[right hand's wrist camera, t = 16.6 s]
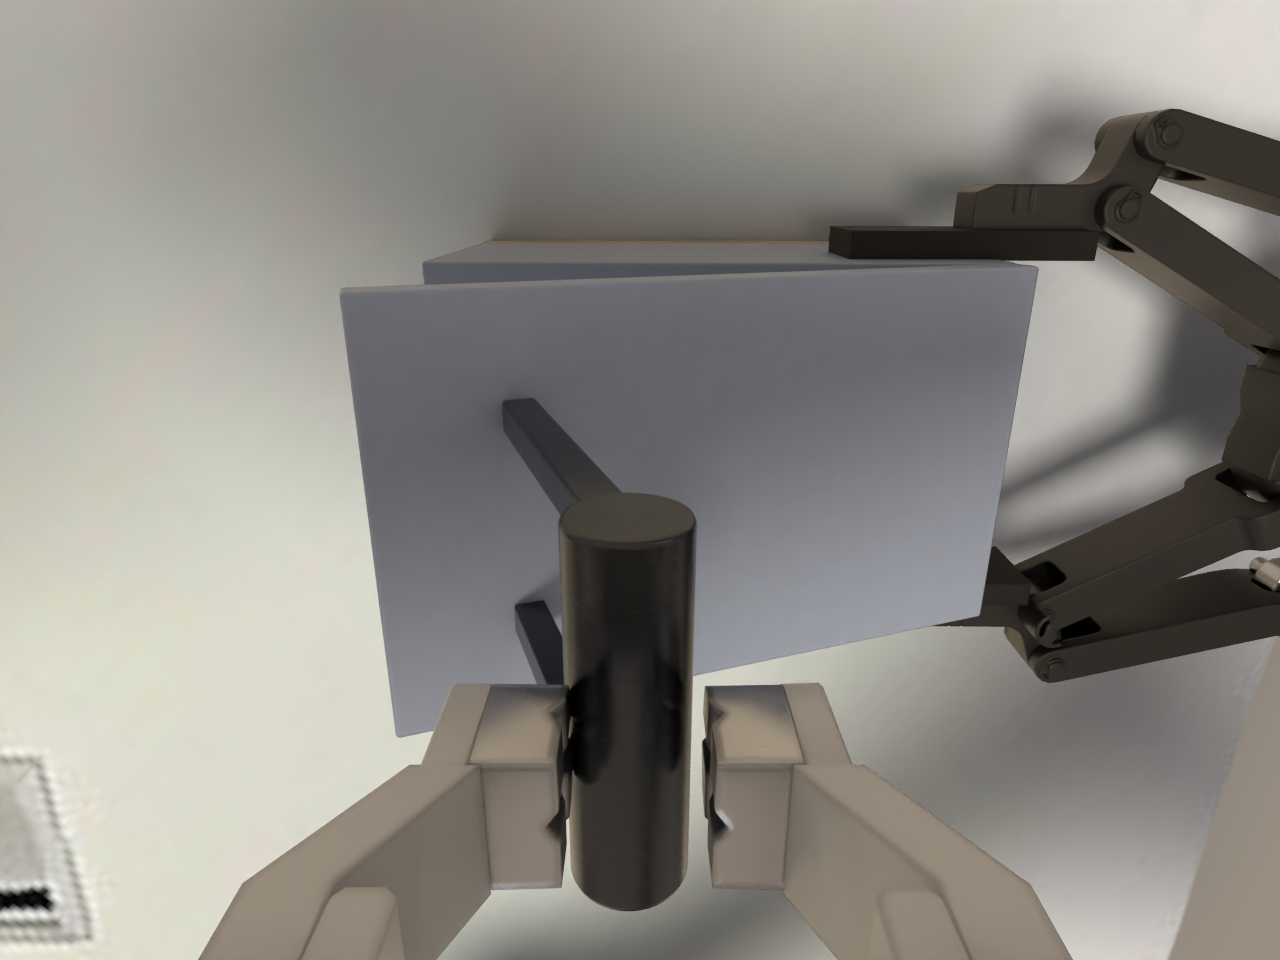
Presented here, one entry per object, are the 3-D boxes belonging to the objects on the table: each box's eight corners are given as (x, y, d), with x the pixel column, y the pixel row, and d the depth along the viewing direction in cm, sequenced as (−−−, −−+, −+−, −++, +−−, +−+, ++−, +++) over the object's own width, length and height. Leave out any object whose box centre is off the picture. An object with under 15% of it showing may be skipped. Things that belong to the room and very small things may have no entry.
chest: (505, 488, 32) (452, 597, 24) (490, 240, 29) (421, 261, 20) (879, 490, 32) (963, 601, 23) (907, 240, 29) (1017, 262, 20)
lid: (394, 715, 18) (433, 1091, 11) (339, 287, 15) (337, 389, 7) (958, 601, 23) (1258, 801, 16) (1012, 263, 20) (1425, 308, 12)
